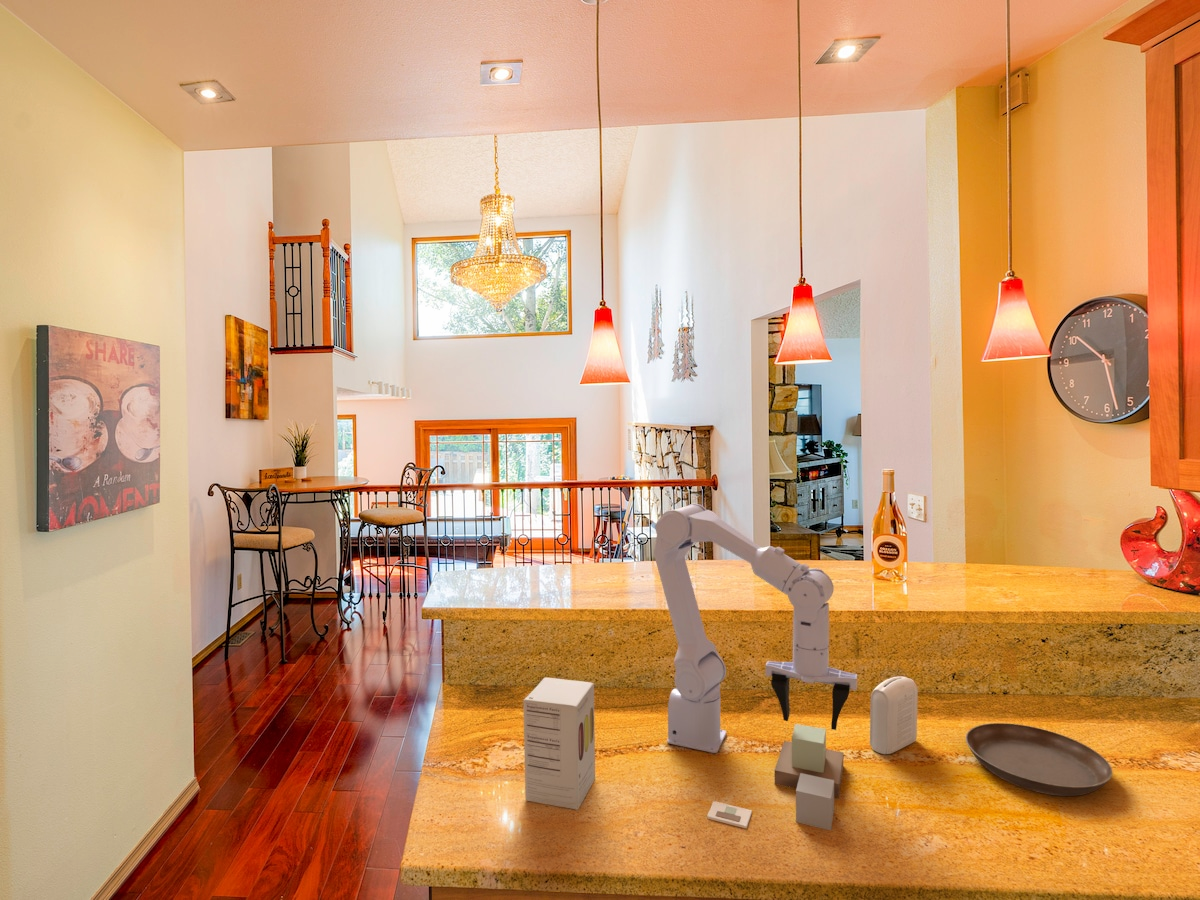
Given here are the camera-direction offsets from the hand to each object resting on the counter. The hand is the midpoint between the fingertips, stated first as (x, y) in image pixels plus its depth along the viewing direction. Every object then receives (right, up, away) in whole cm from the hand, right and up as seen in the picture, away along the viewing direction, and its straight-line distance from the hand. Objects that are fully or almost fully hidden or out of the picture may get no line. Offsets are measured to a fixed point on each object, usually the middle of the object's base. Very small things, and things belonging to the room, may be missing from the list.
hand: (809, 722), depth 108 cm
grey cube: (-3, -10, -10) cm, 15 cm away
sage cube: (0, -7, 0) cm, 7 cm away
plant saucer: (+39, -9, +2) cm, 40 cm away
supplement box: (-42, -10, -2) cm, 43 cm away
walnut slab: (0, -10, +1) cm, 10 cm away
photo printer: (+19, -8, +10) cm, 23 cm away
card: (-16, -10, -10) cm, 21 cm away
